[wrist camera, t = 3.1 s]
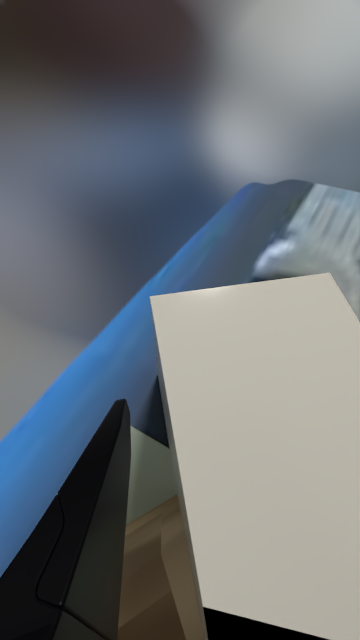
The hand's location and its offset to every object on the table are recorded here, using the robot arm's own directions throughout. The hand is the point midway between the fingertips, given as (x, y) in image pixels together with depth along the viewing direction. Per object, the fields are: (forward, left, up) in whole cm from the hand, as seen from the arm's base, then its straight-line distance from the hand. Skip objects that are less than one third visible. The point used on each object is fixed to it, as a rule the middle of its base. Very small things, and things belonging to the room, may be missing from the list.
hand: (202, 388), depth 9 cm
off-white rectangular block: (-1, -1, -6) cm, 7 cm away
